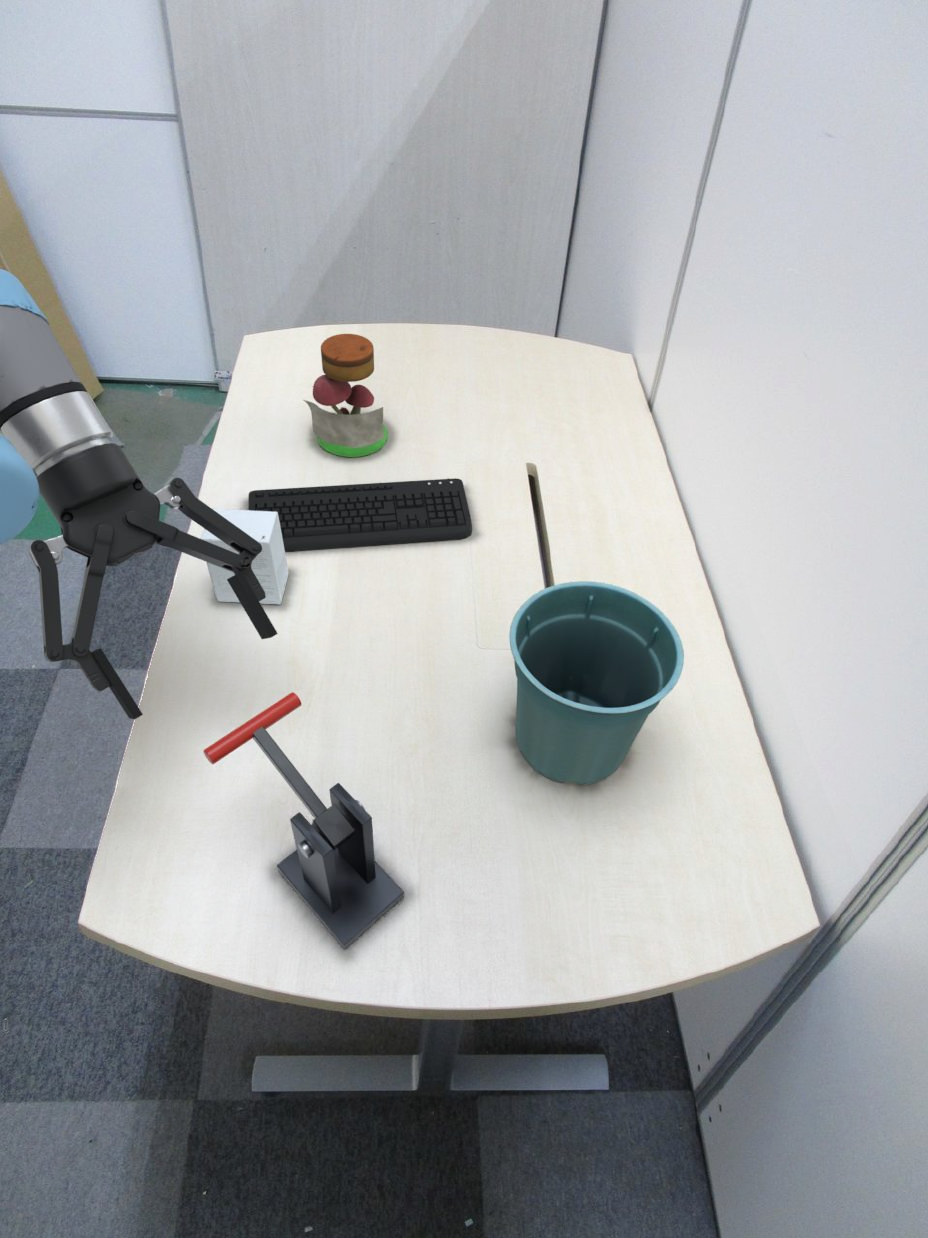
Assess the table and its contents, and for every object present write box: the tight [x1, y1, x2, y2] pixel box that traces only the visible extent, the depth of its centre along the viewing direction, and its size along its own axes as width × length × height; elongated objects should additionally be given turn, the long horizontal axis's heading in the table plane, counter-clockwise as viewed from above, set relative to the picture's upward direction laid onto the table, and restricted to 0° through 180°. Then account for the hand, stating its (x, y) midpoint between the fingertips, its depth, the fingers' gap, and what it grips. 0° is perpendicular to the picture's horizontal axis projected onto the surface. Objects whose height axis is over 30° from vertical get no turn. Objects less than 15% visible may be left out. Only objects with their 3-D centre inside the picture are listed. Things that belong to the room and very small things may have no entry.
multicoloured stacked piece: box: [302, 333, 388, 458], centre depth 115 cm, size 12×13×15 cm
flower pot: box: [508, 580, 685, 786], centre depth 80 cm, size 16×16×16 cm
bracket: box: [276, 782, 405, 950], centre depth 68 cm, size 10×7×13 cm
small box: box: [199, 507, 290, 606], centre depth 94 cm, size 8×6×10 cm
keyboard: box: [247, 478, 473, 553], centre depth 107 cm, size 30×11×2 cm, turn 99°
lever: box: [202, 691, 355, 851], centre depth 66 cm, size 13×9×2 cm
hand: (206, 675), depth 70 cm, fingers open, 13 cm apart
